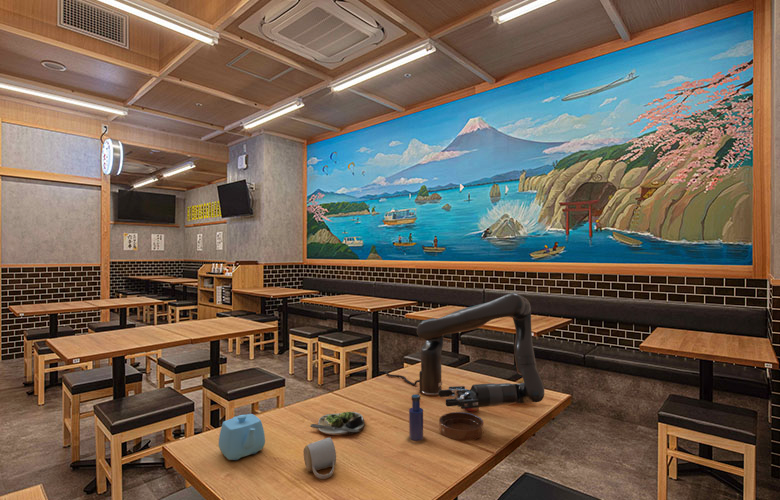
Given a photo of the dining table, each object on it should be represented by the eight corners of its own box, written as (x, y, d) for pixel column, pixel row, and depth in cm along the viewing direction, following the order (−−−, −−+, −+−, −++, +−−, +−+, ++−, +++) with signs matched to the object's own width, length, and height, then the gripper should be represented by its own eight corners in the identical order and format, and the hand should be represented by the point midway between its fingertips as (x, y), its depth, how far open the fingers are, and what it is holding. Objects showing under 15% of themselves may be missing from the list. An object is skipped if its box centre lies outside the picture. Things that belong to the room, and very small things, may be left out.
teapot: (233, 472, 109) (233, 432, 110) (214, 449, 123) (214, 414, 123) (274, 457, 118) (274, 420, 118) (252, 437, 131) (251, 403, 131)
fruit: (468, 417, 146) (468, 396, 146) (457, 409, 153) (456, 389, 153) (484, 413, 149) (484, 392, 149) (473, 406, 156) (472, 386, 156)
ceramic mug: (302, 465, 113) (302, 439, 113) (328, 457, 117) (328, 432, 117) (312, 484, 104) (312, 456, 104) (341, 475, 108) (341, 448, 108)
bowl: (433, 436, 130) (432, 425, 130) (447, 419, 144) (447, 409, 144) (476, 446, 123) (476, 434, 123) (488, 428, 136) (488, 416, 136)
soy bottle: (406, 441, 127) (406, 397, 128) (412, 435, 131) (412, 392, 132) (420, 444, 125) (419, 399, 125) (425, 438, 129) (425, 394, 130)
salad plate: (309, 441, 128) (309, 427, 128) (311, 419, 145) (311, 407, 145) (366, 436, 131) (366, 422, 131) (361, 415, 149) (361, 403, 149)
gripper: (478, 377, 140) (436, 380, 138) (495, 391, 126) (448, 394, 124) (479, 398, 140) (436, 401, 137) (495, 414, 126) (448, 417, 123)
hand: (442, 398), depth 130 cm, fingers open, 8 cm apart
